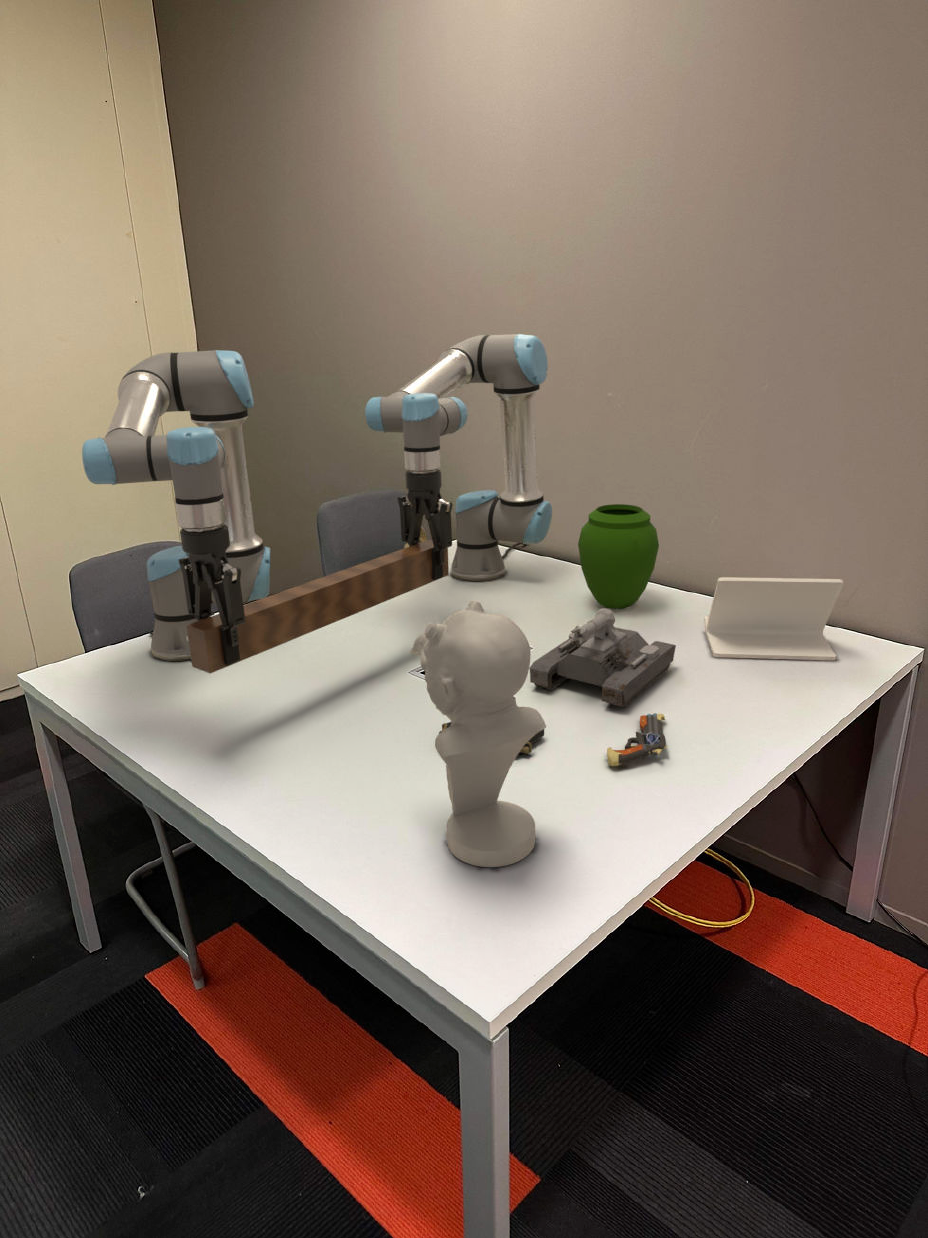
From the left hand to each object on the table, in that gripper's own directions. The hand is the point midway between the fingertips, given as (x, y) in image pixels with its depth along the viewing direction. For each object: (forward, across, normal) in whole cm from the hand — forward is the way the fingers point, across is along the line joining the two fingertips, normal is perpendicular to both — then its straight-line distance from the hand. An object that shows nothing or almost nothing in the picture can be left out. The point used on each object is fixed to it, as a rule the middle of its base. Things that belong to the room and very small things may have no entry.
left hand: (222, 658), depth 146 cm
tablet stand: (+17, -60, -98) cm, 116 cm away
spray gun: (+17, -37, -28) cm, 49 cm away
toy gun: (+17, -58, -41) cm, 73 cm away
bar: (+1, 0, -28) cm, 28 cm away
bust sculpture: (+17, -50, -3) cm, 53 cm away
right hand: (0, 0, -55) cm, 55 cm away
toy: (+17, -40, -62) cm, 75 cm away
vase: (+17, -21, -102) cm, 106 cm away
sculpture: (+17, +52, -110) cm, 123 cm away
